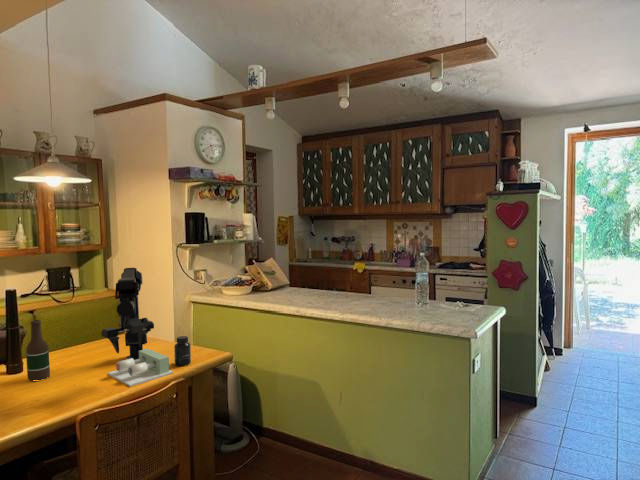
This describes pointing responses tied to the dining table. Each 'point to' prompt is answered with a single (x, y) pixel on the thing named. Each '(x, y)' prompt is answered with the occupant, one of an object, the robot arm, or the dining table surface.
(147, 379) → the mount
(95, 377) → the dining table surface
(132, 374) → the knob
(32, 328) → the beer bottle
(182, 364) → the supplement bottle
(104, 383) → the dining table surface
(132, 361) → the knob
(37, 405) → the dining table surface
